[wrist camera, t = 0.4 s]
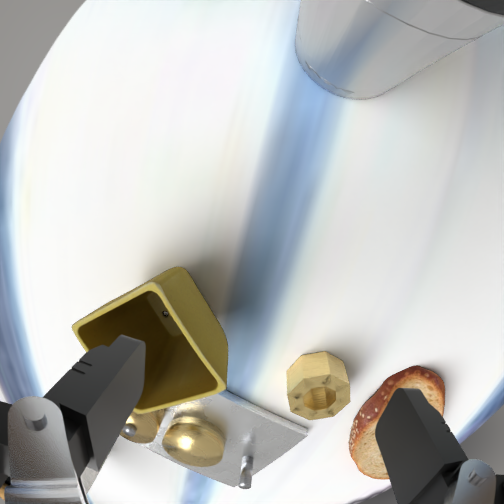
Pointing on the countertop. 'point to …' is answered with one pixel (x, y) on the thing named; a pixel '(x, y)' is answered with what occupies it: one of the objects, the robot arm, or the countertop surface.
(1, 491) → the potato
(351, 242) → the countertop surface
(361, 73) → the robot arm
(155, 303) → the flower pot
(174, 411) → the carrier
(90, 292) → the countertop surface
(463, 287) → the countertop surface
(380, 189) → the countertop surface
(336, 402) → the gold octagonal ring
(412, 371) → the slice of bread
